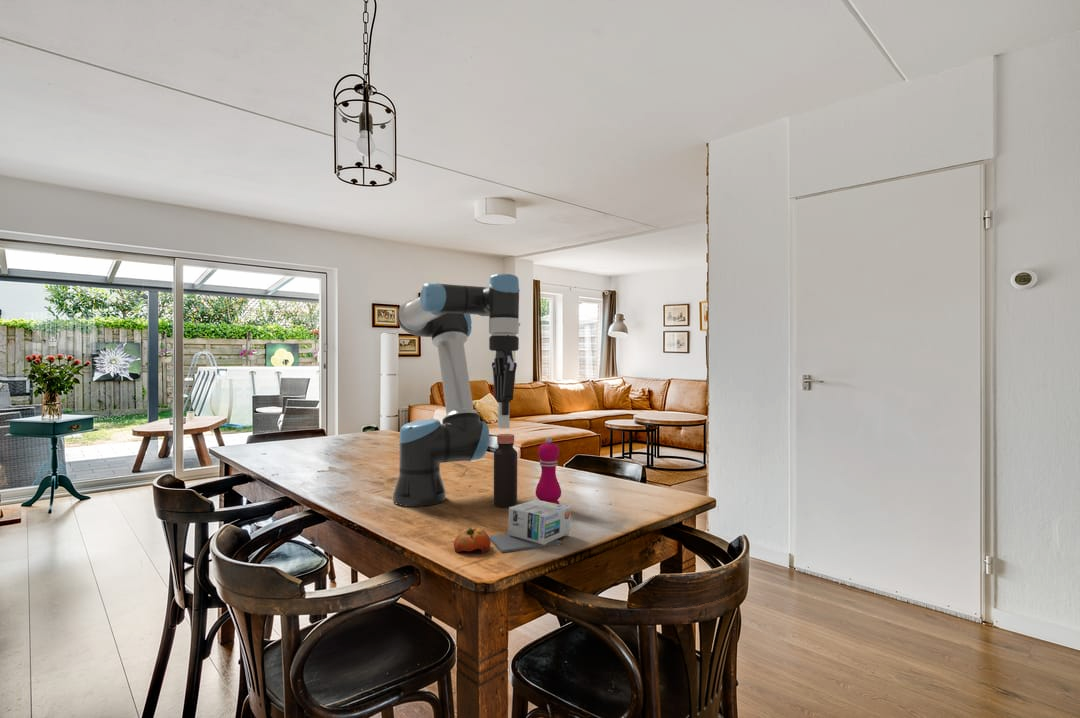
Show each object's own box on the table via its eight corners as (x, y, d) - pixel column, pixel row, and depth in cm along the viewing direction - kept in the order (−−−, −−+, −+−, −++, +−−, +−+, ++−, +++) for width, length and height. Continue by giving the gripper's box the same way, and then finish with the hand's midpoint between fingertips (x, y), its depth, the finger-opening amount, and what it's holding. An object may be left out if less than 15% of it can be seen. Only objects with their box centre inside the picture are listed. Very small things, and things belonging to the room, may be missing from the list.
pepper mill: (563, 511, 146) (564, 438, 147) (537, 512, 145) (538, 439, 145) (558, 504, 154) (558, 435, 154) (533, 505, 152) (534, 435, 152)
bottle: (495, 501, 157) (495, 433, 157) (518, 501, 156) (518, 433, 156) (492, 507, 150) (492, 436, 150) (516, 508, 150) (516, 436, 150)
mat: (488, 538, 124) (488, 536, 124) (543, 531, 129) (543, 529, 129) (501, 552, 115) (501, 550, 115) (560, 544, 120) (560, 542, 120)
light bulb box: (507, 535, 124) (544, 546, 117) (507, 506, 124) (544, 516, 117) (535, 525, 132) (571, 534, 126) (535, 497, 132) (572, 506, 126)
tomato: (443, 541, 118) (465, 514, 120) (463, 556, 121) (484, 529, 123) (459, 557, 111) (482, 529, 113) (479, 573, 115) (501, 545, 117)
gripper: (526, 334, 132) (526, 430, 132) (509, 336, 144) (509, 424, 144) (497, 333, 129) (497, 431, 129) (482, 336, 141) (482, 425, 141)
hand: (503, 427), depth 136 cm, fingers closed
